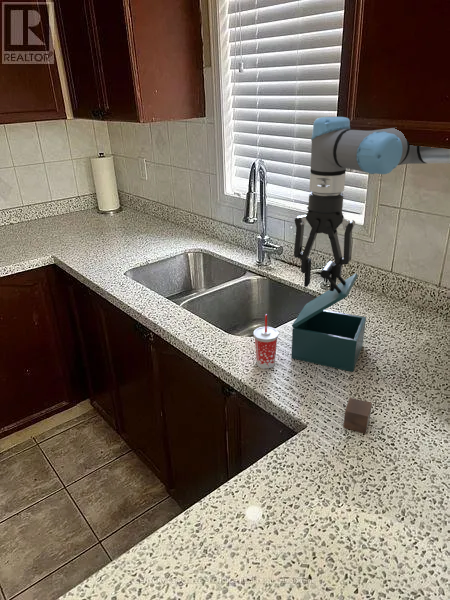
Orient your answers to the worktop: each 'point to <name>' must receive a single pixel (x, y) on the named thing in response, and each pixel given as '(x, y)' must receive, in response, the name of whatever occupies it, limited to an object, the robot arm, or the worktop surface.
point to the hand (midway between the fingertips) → (319, 286)
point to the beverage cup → (265, 345)
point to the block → (357, 415)
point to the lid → (326, 295)
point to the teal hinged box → (329, 340)
